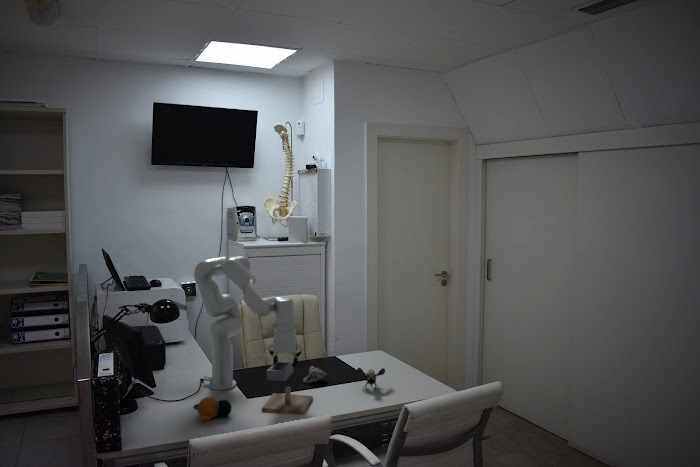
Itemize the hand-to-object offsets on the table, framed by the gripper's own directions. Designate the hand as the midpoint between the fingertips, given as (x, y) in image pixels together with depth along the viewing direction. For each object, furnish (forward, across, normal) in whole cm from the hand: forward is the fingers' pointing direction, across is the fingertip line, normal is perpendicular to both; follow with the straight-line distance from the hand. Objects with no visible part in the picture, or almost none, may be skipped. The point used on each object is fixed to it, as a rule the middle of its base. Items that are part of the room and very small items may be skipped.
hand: (285, 365), depth 250 cm
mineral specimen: (+15, +8, +24) cm, 30 cm away
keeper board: (+15, +3, -7) cm, 17 cm away
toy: (+15, -24, -27) cm, 39 cm away
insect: (+16, +36, +18) cm, 43 cm away
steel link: (+2, 0, -6) cm, 7 cm away
